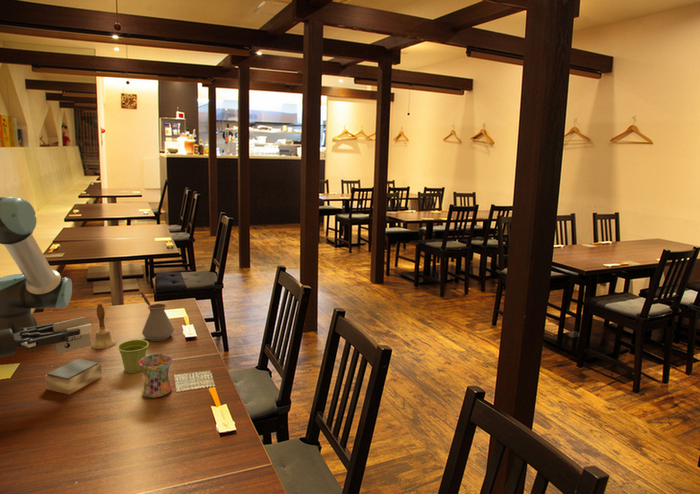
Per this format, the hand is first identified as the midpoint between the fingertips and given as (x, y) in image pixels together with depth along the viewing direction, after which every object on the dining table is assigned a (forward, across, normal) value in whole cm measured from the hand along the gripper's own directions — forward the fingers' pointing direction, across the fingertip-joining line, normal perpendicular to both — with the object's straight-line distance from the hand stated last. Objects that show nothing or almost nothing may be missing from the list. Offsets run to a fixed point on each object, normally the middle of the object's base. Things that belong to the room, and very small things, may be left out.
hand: (88, 325), depth 146 cm
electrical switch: (-5, 0, -6) cm, 8 cm away
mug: (+12, +20, -18) cm, 30 cm away
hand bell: (+10, -26, -18) cm, 33 cm away
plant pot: (+12, +2, -18) cm, 22 cm away
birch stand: (-5, 0, -18) cm, 18 cm away
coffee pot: (+28, -25, -18) cm, 41 cm away
